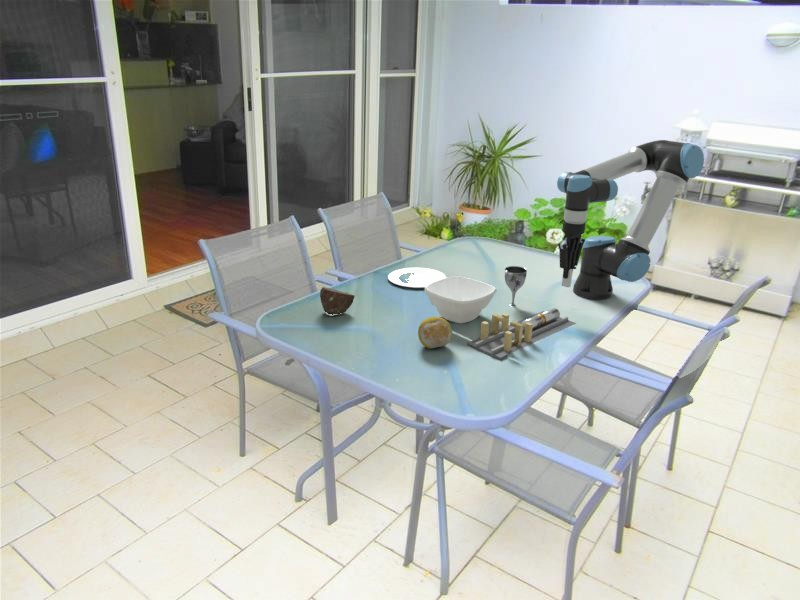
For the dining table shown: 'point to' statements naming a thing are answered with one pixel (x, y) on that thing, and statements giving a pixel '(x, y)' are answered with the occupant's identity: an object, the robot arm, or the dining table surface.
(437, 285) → the bowl
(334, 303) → the brown coconut half
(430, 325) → the fruit
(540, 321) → the tube
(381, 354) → the dining table surface
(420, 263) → the dining table surface
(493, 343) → the guide plate
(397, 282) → the plate
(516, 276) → the wine glass
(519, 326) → the aperture bridge
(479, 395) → the dining table surface
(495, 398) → the dining table surface
